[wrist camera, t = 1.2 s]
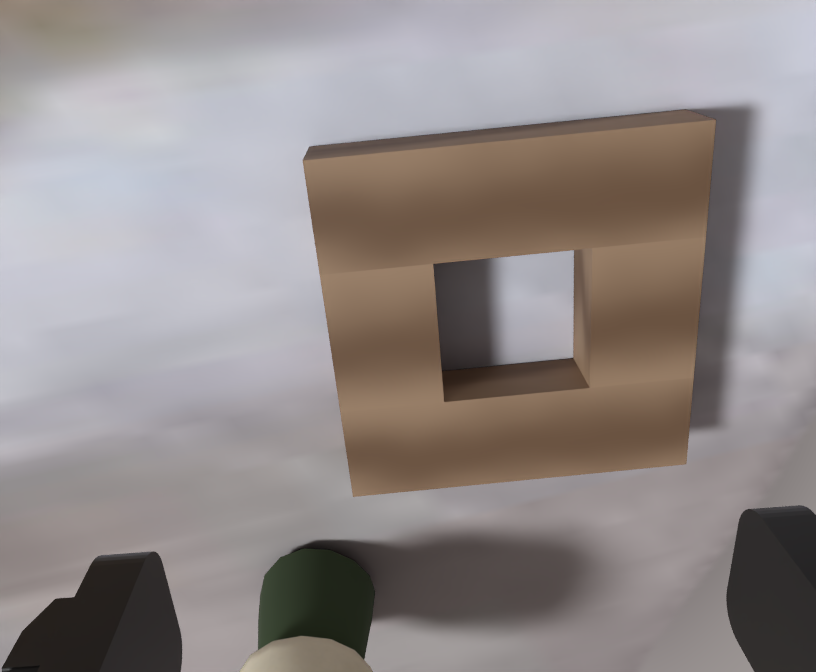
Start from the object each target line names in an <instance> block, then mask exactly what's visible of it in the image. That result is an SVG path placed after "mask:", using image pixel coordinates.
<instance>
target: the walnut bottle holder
mask: <svg viewBox="0 0 816 672" xmlns="http://www.w3.org/2000/svg"><path fill="white" fill-rule="evenodd" d="M715 127H716V119H713V118H710V117H707V116H704V115H701V114H698V113H695V112H692V111H689V110H686V109H685V110H675V111H665V112H655V113H645V114H635V115H625V116H614V117H604V118H594V119H584V120H574V121H564V122H554V123H544V124H534V125H523V126H513V127H503V128H493V129H483V130H473V131H463V132H453V133H443V134H432V135H422V136H412V137H402V138H392V139H382V140H372V141H362V142H352V143H341V144H331V145H321V146H311V147H309V148H308V151H307V153H306V155H305V157H304V159H303V166H304V173H305V179H306V186H307V193H308V199H309V206H310V213H311V219H312V226H313V233H314V239H315V246H316V253H317V259H318V266H319V273H320V279H321V286H322V293H323V299H324V306H325V313H326V319H327V326H328V332H329V339H330V346H331V352H332V359H333V366H334V372H335V379H336V386H337V392H338V399H339V406H340V412H341V419H342V426H343V432H344V439H345V446H346V452H347V459H348V466H349V472H350V479H351V486H352V492H353V497H356V496H366V495H376V494H387V493H397V492H407V491H417V490H428V489H438V488H448V487H458V486H469V485H479V484H489V483H499V482H510V481H520V480H530V479H540V478H551V477H561V476H571V475H581V474H591V473H602V472H612V471H622V470H632V469H643V468H653V467H663V466H673V465H684V464H686V461H687V450H688V438H689V427H690V415H691V404H692V392H693V381H694V369H695V357H696V346H697V334H698V323H699V311H700V300H701V288H702V277H703V265H704V254H705V242H706V230H707V219H708V207H709V196H710V184H711V173H712V161H713V150H714V138H715ZM569 250H574V350H573V358H572V359H562V360H551V361H541V362H531V363H521V364H511V365H500V366H490V367H480V368H470V369H460V370H449V371H442V369H441V356H440V344H439V331H438V318H437V306H436V293H435V281H434V268H433V264H437V263H447V262H457V261H467V260H478V259H488V258H498V257H508V256H518V255H528V254H538V253H549V252H559V251H569Z"/></svg>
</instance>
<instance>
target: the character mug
mask: <svg viewBox="0 0 816 672" xmlns="http://www.w3.org/2000/svg"><path fill="white" fill-rule="evenodd" d="M374 596H375V590H374V587H373V584H372V581H371V579H370V576H369V575H368V574H367V573H366V572H365V571H364V570H363V569H362V568H361V567H360V566H359V565H358V564H357V563H356V562H355V561H354V560H352V559H349V558H347V557H345V556H343V555H340V554H338V553H336V552H333V551H331V550H322V549H301V550H298V551H296V552H293V553H291V554H288V555H286V556H283V557H280V558H279V560H278V561H277V562H276V563H275V564H274V565H273V566H272V567H271V569H270V570H269V571H268V572H267V573H266V574H265V576H264V581H263V585H262V590H261V594H260V605H259V619H258V650H257V651H256V652H254V653H253V654H251V655H250V656H249V658H248V659H247V661H246V662H245V664H244V665H243V667H242V668H241V670H240V671H239V672H373V671H372V669H371V667H370V666H369V665H368V664H367V663H366V662H365V661H364V658H365V652H366V647H367V642H368V636H369V631H370V626H371V621H372V614H373V605H374Z"/></svg>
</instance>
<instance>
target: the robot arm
mask: <svg viewBox="0 0 816 672" xmlns="http://www.w3.org/2000/svg"><path fill="white" fill-rule="evenodd" d="M727 610H728V616H729V620H730V624H731V627H732V630H733V633H734V635H735V637H736V639H737V641H738V643H739V645H740V647H741V649H742V650H743V652H744V654H745V656H746V658H747V659H748V661H749V663H750V664H751V666H752V668H753V670H754V672H816V515H815V514H814V513H813V512H812V511H811V510H810V509H809V508H807V507H805V506H800V505H798V506H785V507H773V508H758V509H748V510H745V511H744V512H743V513H742V514H741V517H740V519H739V524H738V530H737V535H736V541H735V547H734V553H733V559H732V564H731V571H730V576H729V582H728V587H727ZM181 664H182V639H181V632H180V628H179V624H178V620H177V617H176V613H175V609H174V605H173V601H172V598H171V594H170V590H169V586H168V582H167V579H166V575H165V571H164V567H163V564H162V561H161V558H160V556H159V555H158V553H156V552H141V553H127V554H114V555H101V556H98V557H97V558H95V559H94V561H93V562H92V564H91V565H90V567H89V569H88V571H87V573H86V575H85V577H84V579H83V581H82V583H81V585H80V587H79V589H78V591H77V593H76V595H75V597H72V598H59V599H55V600H54V601H53V602H52V603H51V604H50V605H49V606H48V607H47V608H46V609H45V610H44V611H42V612H41V613H40V614H39V615H38V616H37V617H36V618H35V619H34V620H33V621H32V622H31V623H30V624H29V625H28V626H27V627H26V628H25V629H24V630H23V631H22V633H21V634H20V636H19V638H18V640H17V642H16V643H15V645H14V647H13V649H12V651H11V652H10V654H9V656H8V658H7V660H6V661H5V663H4V665H3V667H2V672H181Z"/></svg>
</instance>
